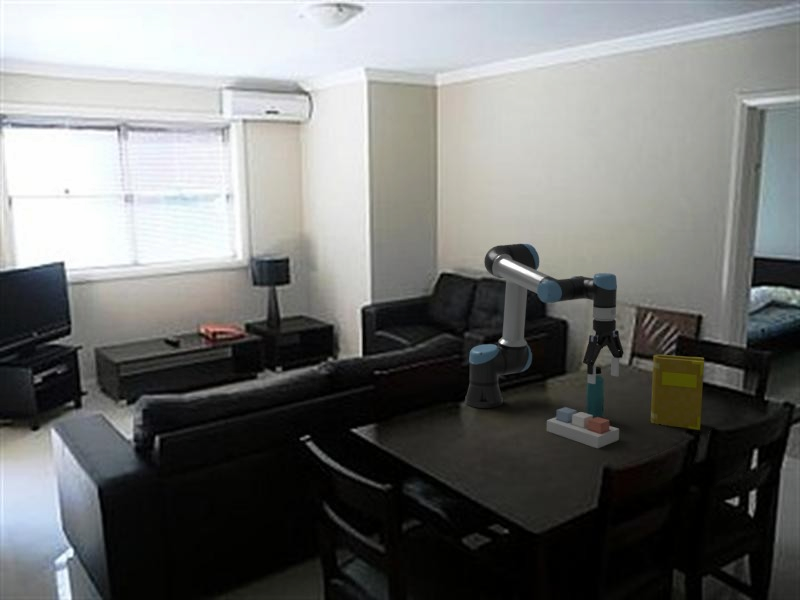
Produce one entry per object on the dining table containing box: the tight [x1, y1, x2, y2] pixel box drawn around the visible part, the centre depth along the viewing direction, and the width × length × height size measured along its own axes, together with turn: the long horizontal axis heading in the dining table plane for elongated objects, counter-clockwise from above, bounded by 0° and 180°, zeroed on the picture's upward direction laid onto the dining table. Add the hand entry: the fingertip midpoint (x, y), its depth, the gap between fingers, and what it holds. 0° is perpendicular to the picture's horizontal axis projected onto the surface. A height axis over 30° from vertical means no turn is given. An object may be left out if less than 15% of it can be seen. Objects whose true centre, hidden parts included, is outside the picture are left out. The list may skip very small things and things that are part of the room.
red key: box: [588, 417, 611, 434], centre depth 238 cm, size 5×5×5 cm
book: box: [650, 354, 705, 431], centre depth 252 cm, size 17×7×25 cm, turn 65°
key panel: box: [546, 416, 620, 449], centre depth 244 cm, size 22×12×4 cm, turn 38°
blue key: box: [555, 406, 578, 423], centre depth 249 cm, size 5×5×5 cm
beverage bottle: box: [585, 366, 605, 418], centre depth 260 cm, size 6×7×20 cm
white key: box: [572, 411, 594, 429], centre depth 244 cm, size 5×5×5 cm
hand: (603, 379), depth 238 cm, fingers open, 13 cm apart
